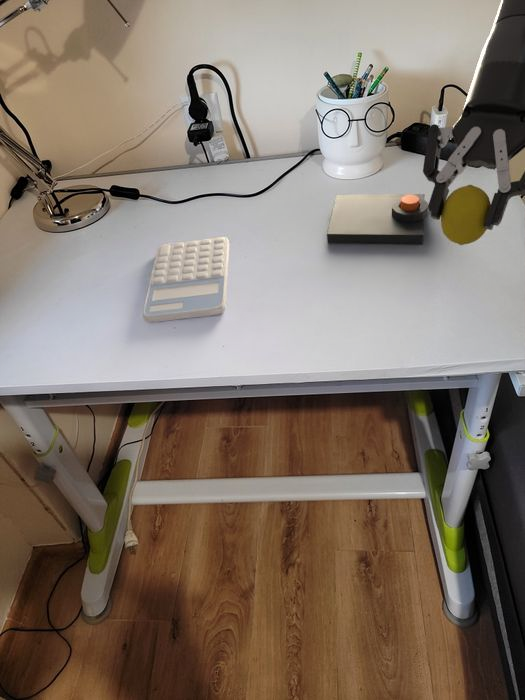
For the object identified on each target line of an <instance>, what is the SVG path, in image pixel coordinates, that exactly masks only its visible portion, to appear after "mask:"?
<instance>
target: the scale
mask: <svg viewBox="0 0 525 700" xmlns="http://www.w3.org/2000/svg"><path fill="white" fill-rule="evenodd" d="M405 195H416V196H418V197H419V208H418V209H417V210H414V211H405V210H402V209H401V198H402V197H403V196H405ZM425 196H426V195H425V193H402V194H401V193H399V194H396V193H394V194H390V193H389V194H336V195H335V199H334V203H333V207H332V210H331V211H332V212H331V215H330V220H329V224H328V228H327V232H326V243H327V244H354V245H355V244H357V245H358V244H361V245H366V244H367V245H373V244H374V245H423V244H424V235H425V218H427V216H428V205H429V202H427V201H426V200H425Z"/></svg>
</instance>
